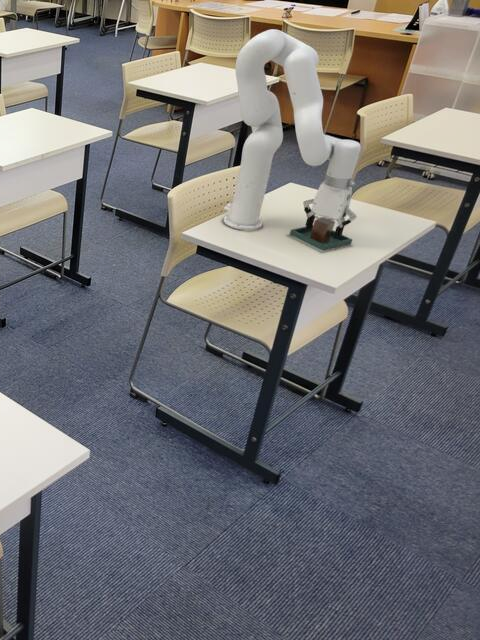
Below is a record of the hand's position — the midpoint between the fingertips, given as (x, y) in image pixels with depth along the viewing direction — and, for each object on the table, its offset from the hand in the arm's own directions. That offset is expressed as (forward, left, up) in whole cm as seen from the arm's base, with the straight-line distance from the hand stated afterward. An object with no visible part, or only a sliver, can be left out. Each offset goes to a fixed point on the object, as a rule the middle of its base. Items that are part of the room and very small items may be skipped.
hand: (322, 232), depth 226 cm
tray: (0, 0, -3) cm, 3 cm away
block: (0, 0, -2) cm, 2 cm away
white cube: (-16, +18, -3) cm, 24 cm away
